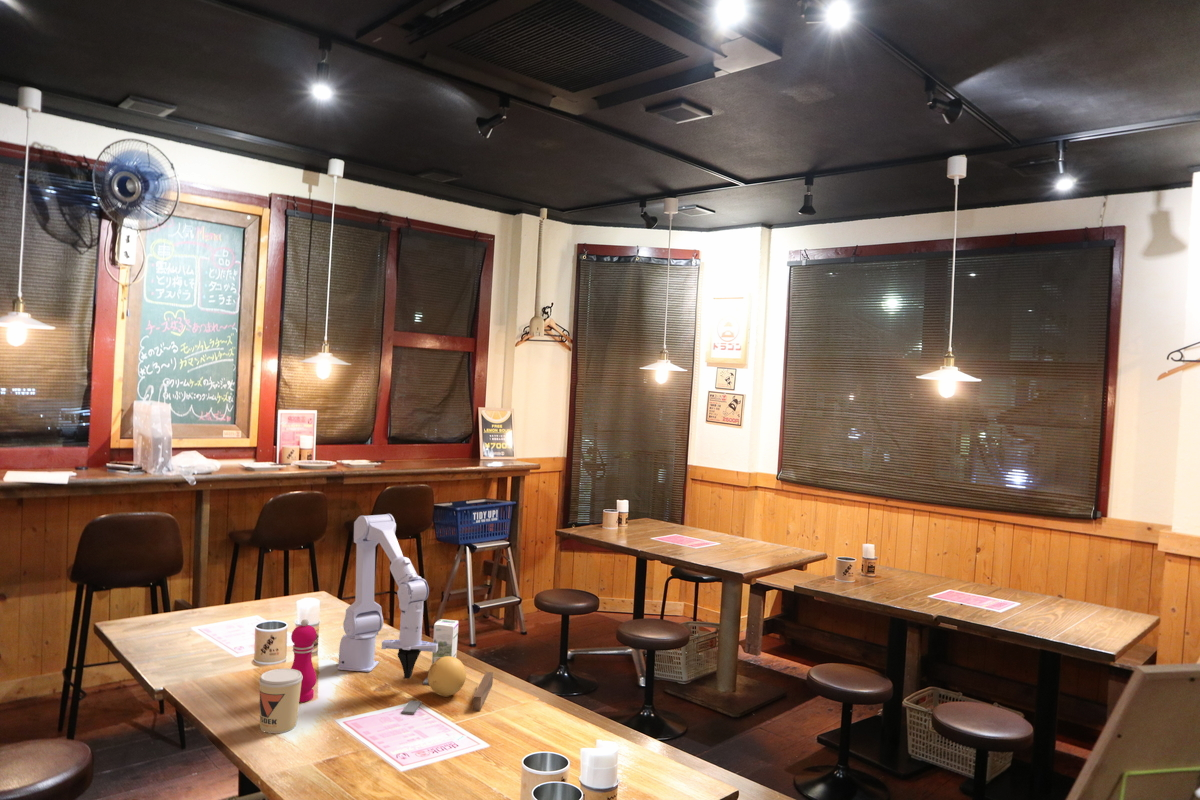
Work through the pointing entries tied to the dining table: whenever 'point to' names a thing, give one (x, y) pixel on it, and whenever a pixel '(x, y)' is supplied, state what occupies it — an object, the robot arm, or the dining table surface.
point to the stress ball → (446, 676)
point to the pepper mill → (304, 658)
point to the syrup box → (445, 638)
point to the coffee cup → (279, 699)
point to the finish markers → (413, 703)
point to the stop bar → (482, 691)
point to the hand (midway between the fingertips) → (408, 677)
